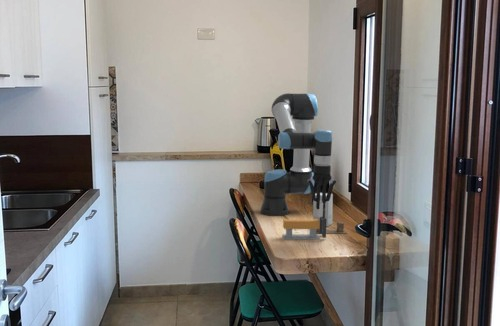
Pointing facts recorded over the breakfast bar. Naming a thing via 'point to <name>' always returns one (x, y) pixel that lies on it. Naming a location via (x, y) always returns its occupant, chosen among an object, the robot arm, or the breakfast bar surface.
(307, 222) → the orange tapered block
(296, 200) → the breakfast bar surface
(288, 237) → the clip mount
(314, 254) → the breakfast bar surface
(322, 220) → the grey gate frame
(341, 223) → the rest
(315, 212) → the skincare box
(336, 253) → the breakfast bar surface
